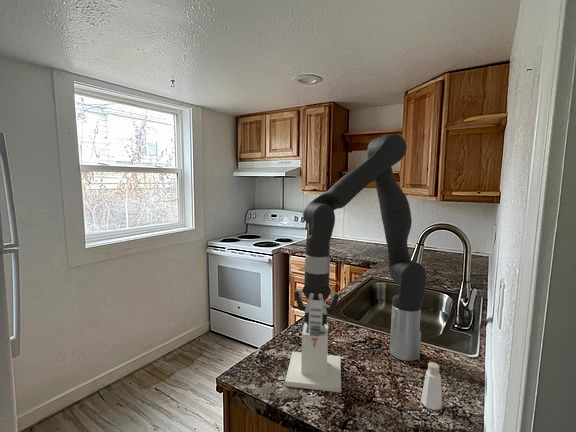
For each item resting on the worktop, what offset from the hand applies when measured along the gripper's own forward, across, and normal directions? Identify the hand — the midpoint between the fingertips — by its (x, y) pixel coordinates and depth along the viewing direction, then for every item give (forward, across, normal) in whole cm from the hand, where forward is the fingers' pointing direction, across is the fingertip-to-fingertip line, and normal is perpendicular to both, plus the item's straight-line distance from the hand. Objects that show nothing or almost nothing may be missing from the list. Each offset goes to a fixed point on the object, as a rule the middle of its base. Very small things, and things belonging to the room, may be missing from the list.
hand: (315, 323), depth 93 cm
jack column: (+14, 0, 0) cm, 14 cm away
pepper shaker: (+16, -32, +8) cm, 37 cm away
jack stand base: (+16, 0, 0) cm, 16 cm away
